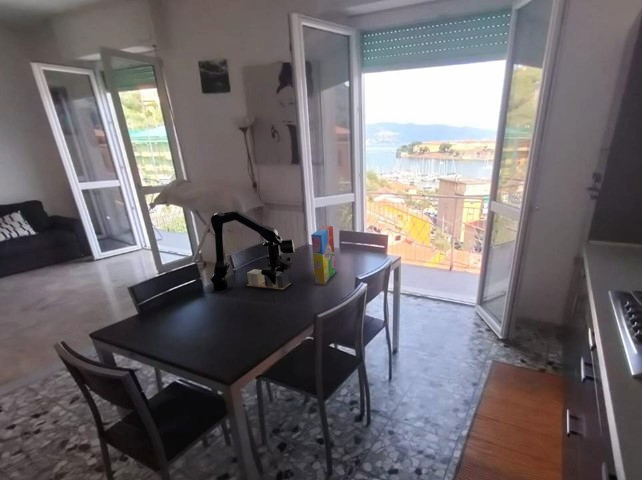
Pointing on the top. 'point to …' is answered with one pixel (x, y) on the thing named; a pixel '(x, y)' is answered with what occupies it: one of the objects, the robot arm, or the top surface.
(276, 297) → the top surface
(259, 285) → the book stand
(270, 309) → the top surface
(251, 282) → the cream book
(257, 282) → the cream book
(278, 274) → the cream book
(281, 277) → the grey book
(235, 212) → the robot arm
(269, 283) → the grey book
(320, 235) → the game box
